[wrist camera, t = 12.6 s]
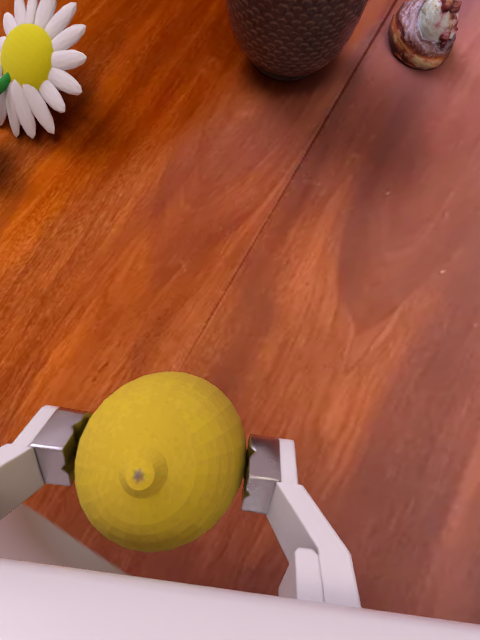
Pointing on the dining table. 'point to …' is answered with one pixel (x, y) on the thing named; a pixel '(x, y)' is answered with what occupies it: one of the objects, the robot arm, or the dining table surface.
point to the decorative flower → (37, 63)
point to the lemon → (160, 461)
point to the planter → (293, 33)
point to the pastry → (424, 31)
